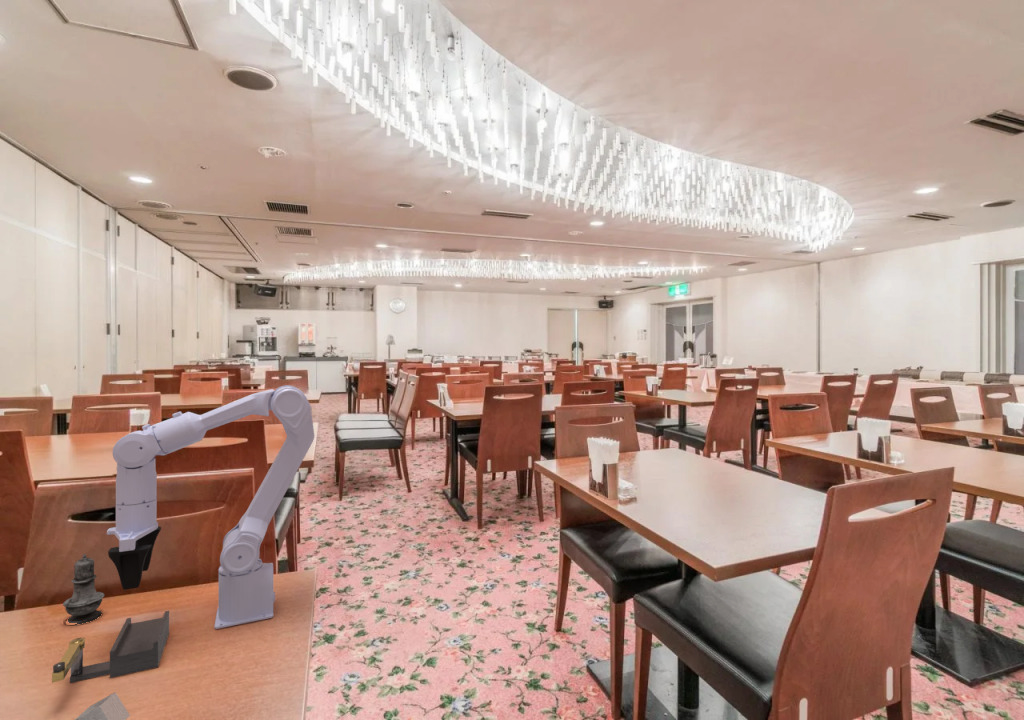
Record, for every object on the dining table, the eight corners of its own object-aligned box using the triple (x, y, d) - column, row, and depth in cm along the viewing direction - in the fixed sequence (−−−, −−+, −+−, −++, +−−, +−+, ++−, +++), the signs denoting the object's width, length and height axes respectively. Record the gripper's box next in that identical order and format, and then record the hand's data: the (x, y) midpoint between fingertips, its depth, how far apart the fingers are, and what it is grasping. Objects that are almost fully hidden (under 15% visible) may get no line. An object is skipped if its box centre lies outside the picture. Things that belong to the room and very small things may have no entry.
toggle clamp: (169, 633, 88) (169, 610, 88) (157, 667, 78) (157, 641, 78) (87, 649, 83) (88, 625, 83) (65, 688, 73) (65, 660, 73)
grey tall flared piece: (80, 628, 90) (80, 561, 90) (54, 624, 91) (54, 558, 91) (112, 612, 96) (112, 549, 96) (87, 609, 97) (87, 546, 97)
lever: (66, 679, 69) (66, 665, 69) (48, 683, 68) (48, 668, 68) (86, 644, 77) (86, 631, 77) (71, 647, 76) (71, 634, 76)
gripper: (118, 493, 92) (118, 568, 92) (95, 515, 79) (94, 601, 79) (164, 489, 95) (164, 561, 95) (149, 509, 82) (149, 592, 82)
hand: (136, 579), depth 87 cm, fingers open, 7 cm apart
